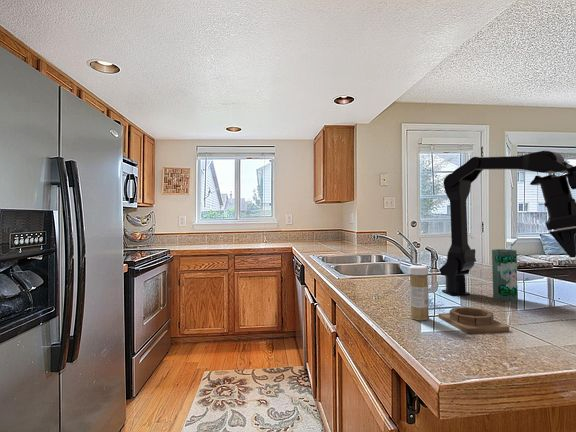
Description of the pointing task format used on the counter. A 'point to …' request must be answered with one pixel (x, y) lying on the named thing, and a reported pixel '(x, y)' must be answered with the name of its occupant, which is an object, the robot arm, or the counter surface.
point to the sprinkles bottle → (419, 292)
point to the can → (504, 275)
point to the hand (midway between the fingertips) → (574, 256)
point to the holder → (473, 320)
